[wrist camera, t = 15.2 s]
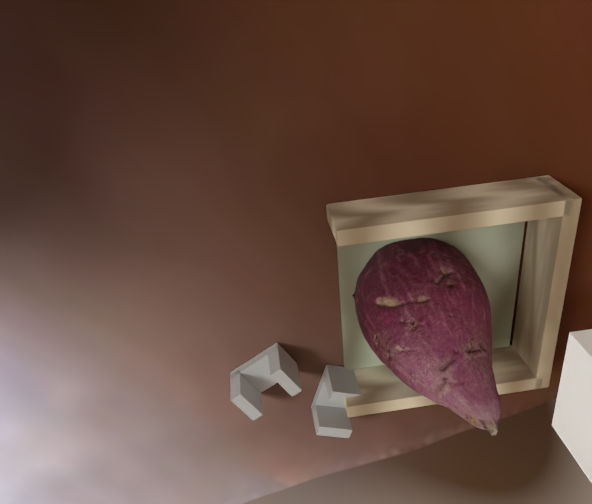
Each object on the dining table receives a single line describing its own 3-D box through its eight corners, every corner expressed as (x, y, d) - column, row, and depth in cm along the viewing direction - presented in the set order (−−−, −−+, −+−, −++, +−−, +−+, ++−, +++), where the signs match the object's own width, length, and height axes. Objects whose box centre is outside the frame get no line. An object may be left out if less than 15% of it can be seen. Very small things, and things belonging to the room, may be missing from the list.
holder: (338, 380, 50) (347, 417, 46) (326, 204, 41) (336, 230, 37) (523, 353, 51) (548, 387, 47) (548, 175, 42) (582, 198, 38)
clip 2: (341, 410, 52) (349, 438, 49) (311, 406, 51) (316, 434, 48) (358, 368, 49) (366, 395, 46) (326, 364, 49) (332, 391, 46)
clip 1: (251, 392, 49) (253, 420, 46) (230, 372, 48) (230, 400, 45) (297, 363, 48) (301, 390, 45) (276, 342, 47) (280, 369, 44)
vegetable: (467, 282, 50) (590, 416, 39) (369, 344, 50) (463, 494, 39) (438, 204, 43) (578, 341, 32) (324, 277, 43) (424, 437, 32)
